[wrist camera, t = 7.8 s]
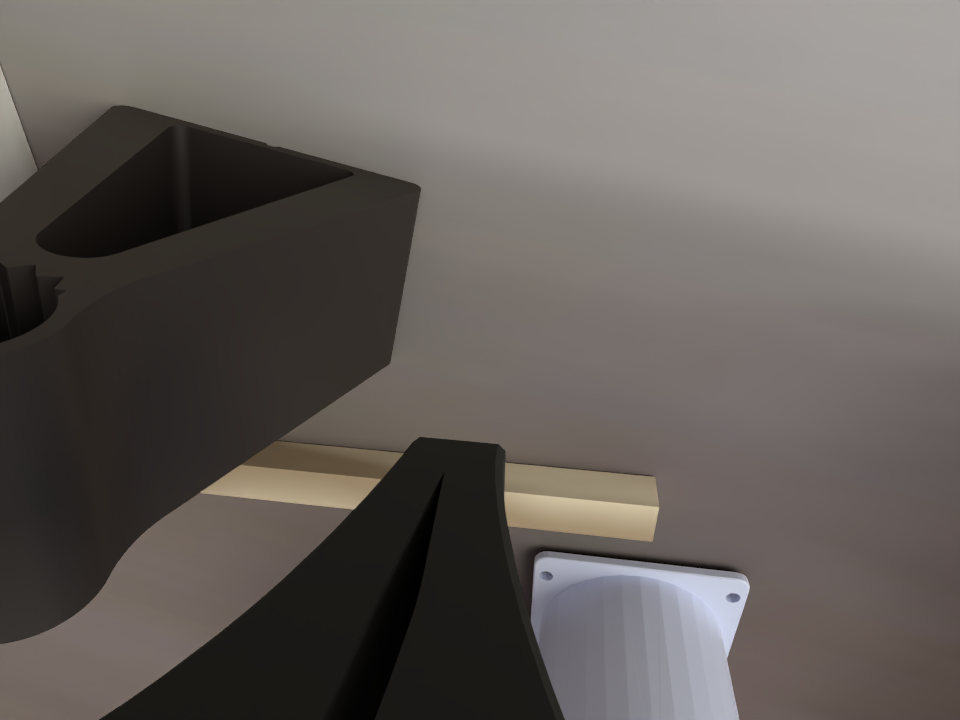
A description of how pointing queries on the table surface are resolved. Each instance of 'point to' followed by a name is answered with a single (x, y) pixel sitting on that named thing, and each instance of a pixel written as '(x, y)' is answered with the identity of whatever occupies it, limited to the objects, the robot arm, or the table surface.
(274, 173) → the phone stand
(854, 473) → the table surface
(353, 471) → the bar
